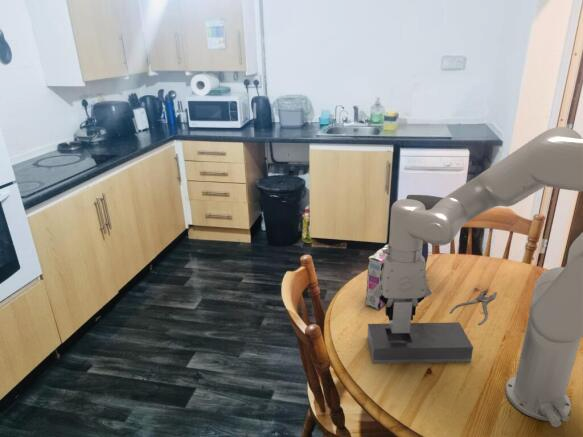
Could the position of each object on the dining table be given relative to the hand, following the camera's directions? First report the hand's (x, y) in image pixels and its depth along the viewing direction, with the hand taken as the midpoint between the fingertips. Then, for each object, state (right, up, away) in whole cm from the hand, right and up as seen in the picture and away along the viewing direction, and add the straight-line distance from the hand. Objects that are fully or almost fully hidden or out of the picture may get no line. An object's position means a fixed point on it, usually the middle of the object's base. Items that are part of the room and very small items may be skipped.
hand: (399, 316), depth 108 cm
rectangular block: (+5, -9, +4) cm, 11 cm away
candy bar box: (+1, -1, +25) cm, 25 cm away
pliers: (+28, -2, +22) cm, 35 cm away
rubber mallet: (+15, +3, +34) cm, 37 cm away
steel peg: (0, -3, +1) cm, 3 cm away
